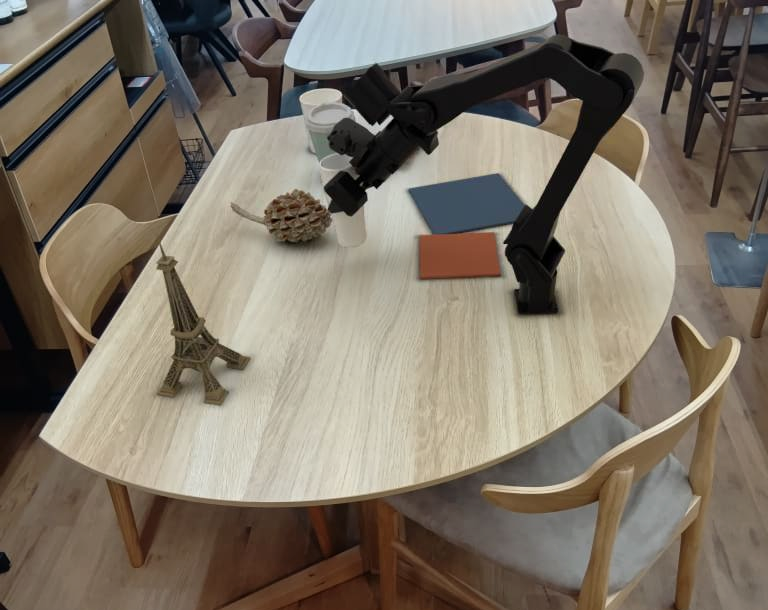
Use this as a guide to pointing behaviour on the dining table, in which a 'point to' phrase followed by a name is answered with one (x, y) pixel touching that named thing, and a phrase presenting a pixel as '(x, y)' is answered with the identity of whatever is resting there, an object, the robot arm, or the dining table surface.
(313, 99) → the cream paper cup
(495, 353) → the dining table surface
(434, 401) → the dining table surface
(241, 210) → the pine cone
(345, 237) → the tall white cup
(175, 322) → the eiffel tower
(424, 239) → the terracotta mat
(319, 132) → the disposable coffee cup
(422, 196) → the mat
